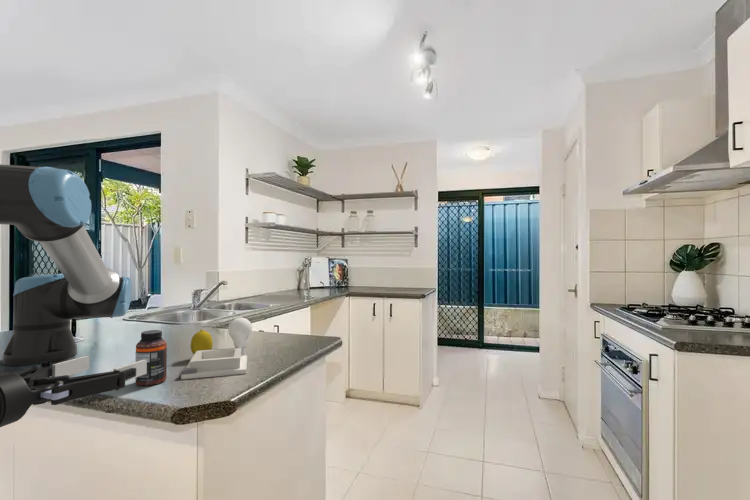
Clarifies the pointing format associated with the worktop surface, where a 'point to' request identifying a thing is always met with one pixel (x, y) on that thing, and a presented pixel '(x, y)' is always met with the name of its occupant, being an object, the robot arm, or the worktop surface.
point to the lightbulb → (240, 332)
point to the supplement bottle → (152, 357)
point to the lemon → (201, 341)
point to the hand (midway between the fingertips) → (116, 364)
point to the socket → (215, 363)
